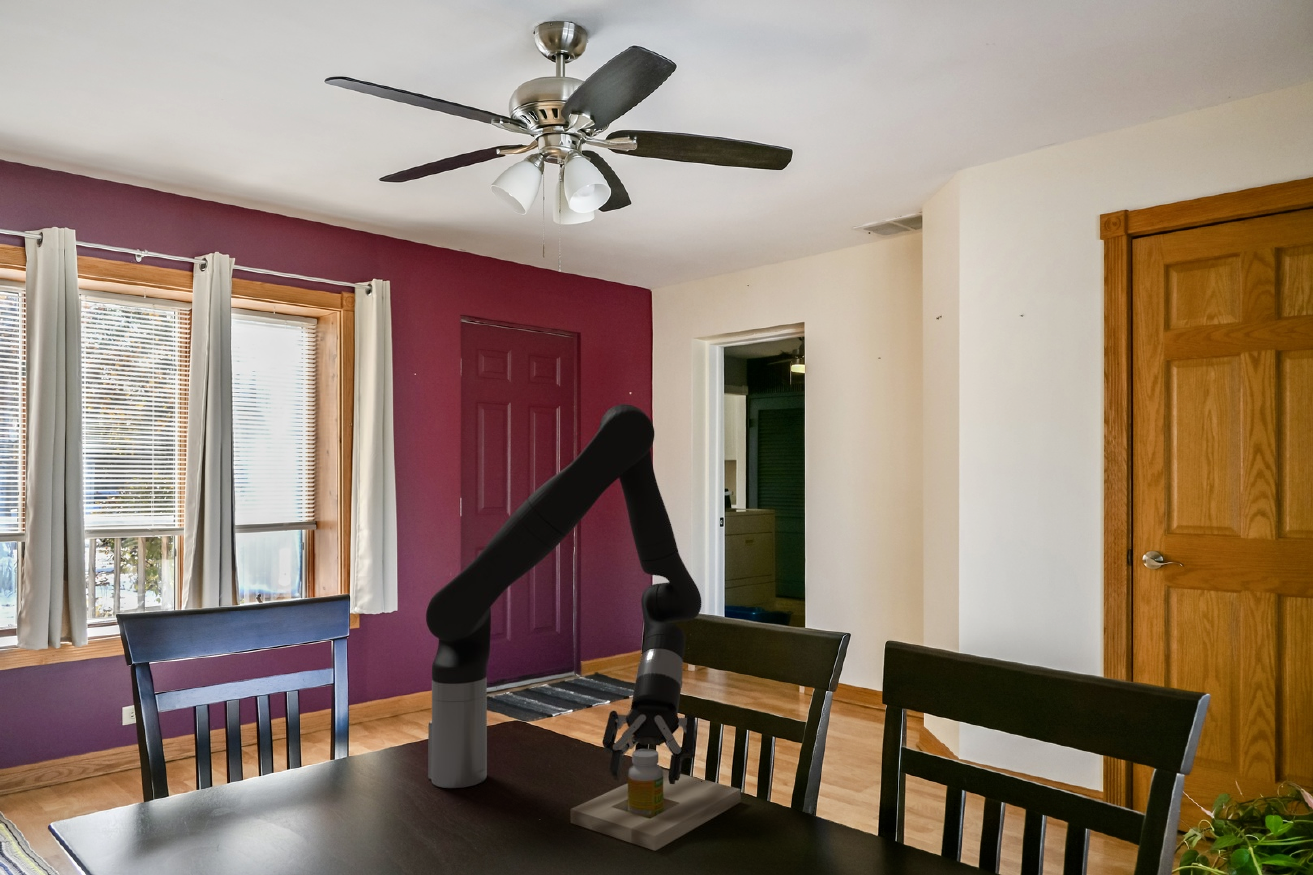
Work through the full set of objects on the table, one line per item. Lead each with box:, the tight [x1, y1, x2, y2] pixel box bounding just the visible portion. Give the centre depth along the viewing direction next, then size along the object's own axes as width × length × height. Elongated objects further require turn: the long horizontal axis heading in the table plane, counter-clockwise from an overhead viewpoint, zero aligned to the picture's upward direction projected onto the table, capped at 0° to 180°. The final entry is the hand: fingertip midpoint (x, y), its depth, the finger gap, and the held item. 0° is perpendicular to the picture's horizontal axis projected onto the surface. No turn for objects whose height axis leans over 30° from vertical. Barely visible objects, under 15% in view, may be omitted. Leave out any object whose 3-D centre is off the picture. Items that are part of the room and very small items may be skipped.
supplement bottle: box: [627, 748, 664, 819], centre depth 130 cm, size 5×5×10 cm
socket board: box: [570, 768, 742, 851], centre depth 131 cm, size 16×22×2 cm
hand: (643, 779), depth 128 cm, fingers open, 8 cm apart
